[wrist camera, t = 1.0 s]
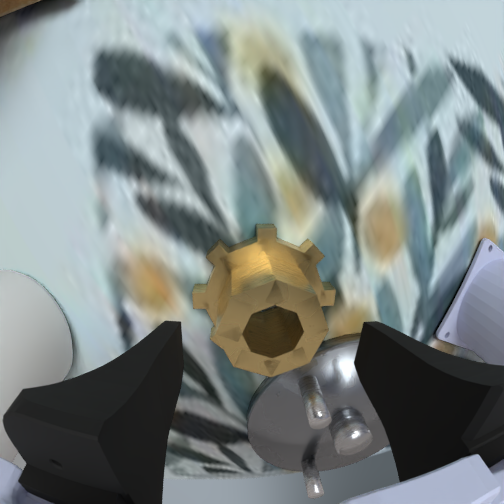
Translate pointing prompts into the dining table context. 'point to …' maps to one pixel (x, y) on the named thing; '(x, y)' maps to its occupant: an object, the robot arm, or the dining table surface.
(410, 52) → the dining table surface
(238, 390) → the dining table surface
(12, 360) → the alcohol
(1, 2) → the stone cup
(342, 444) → the carrier
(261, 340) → the planet gear
